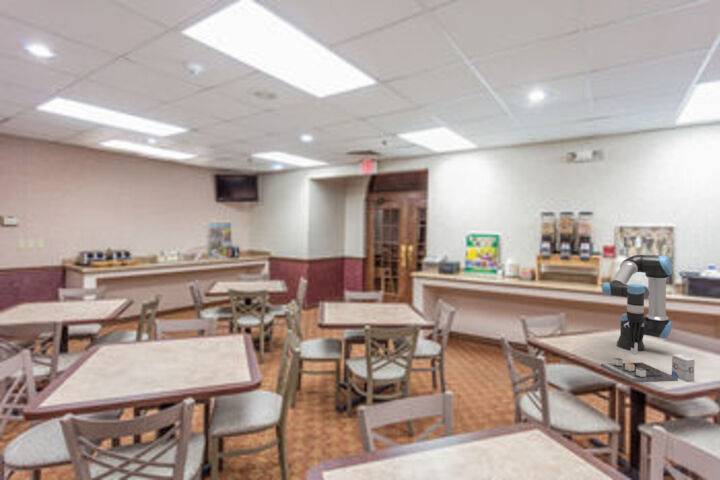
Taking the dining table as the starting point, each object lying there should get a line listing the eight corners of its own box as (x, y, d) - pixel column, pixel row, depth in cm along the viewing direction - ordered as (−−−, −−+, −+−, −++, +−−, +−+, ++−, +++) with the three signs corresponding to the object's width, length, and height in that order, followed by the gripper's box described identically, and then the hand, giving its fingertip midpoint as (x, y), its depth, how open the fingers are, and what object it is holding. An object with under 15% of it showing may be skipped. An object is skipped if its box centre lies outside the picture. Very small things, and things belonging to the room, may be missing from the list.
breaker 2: (641, 374, 193) (641, 367, 193) (645, 376, 190) (646, 369, 190) (635, 374, 193) (636, 367, 192) (640, 376, 190) (640, 370, 189)
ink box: (670, 375, 197) (671, 354, 196) (679, 374, 197) (679, 353, 197) (686, 381, 188) (686, 359, 188) (694, 381, 189) (695, 359, 188)
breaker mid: (629, 368, 200) (630, 362, 200) (634, 370, 197) (634, 364, 197) (625, 368, 200) (625, 362, 200) (629, 371, 197) (629, 364, 197)
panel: (641, 364, 211) (641, 362, 211) (677, 380, 189) (677, 377, 189) (600, 366, 209) (600, 363, 209) (632, 382, 187) (632, 379, 187)
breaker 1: (618, 363, 208) (618, 357, 208) (622, 365, 205) (623, 359, 205) (613, 363, 208) (614, 357, 207) (618, 365, 205) (618, 359, 204)
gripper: (640, 310, 202) (639, 350, 203) (618, 310, 201) (617, 351, 202) (652, 313, 195) (650, 355, 196) (630, 313, 194) (628, 356, 195)
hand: (634, 353), depth 199 cm, fingers closed
